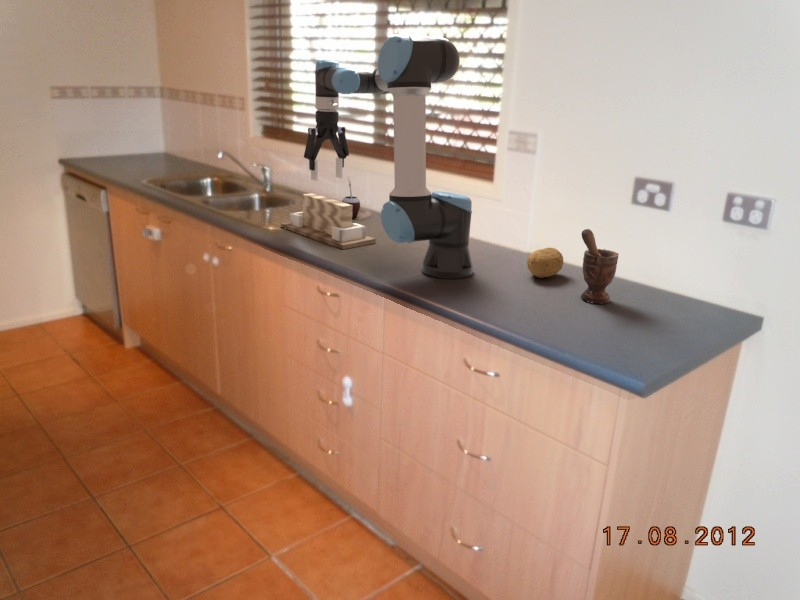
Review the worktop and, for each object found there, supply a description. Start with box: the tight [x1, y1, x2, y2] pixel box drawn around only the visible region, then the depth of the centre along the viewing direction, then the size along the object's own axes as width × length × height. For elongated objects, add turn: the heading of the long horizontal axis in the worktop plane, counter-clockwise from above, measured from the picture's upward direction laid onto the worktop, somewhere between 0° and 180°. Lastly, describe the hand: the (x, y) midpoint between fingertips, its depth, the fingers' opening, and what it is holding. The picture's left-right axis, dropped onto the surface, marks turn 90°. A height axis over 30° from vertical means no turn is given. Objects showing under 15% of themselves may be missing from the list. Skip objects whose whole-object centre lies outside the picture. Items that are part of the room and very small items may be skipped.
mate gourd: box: [341, 176, 361, 218], centre depth 257 cm, size 8×8×15 cm
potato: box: [526, 247, 564, 279], centre depth 195 cm, size 10×14×8 cm
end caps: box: [289, 211, 367, 242], centre depth 231 cm, size 30×10×4 cm, turn 43°
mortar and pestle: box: [580, 228, 619, 304], centre depth 173 cm, size 12×9×20 cm
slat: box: [302, 192, 353, 235], centre depth 229 cm, size 24×4×11 cm, turn 40°
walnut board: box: [280, 221, 377, 250], centre depth 232 cm, size 36×14×2 cm, turn 43°
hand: (326, 178), depth 225 cm, fingers open, 10 cm apart
